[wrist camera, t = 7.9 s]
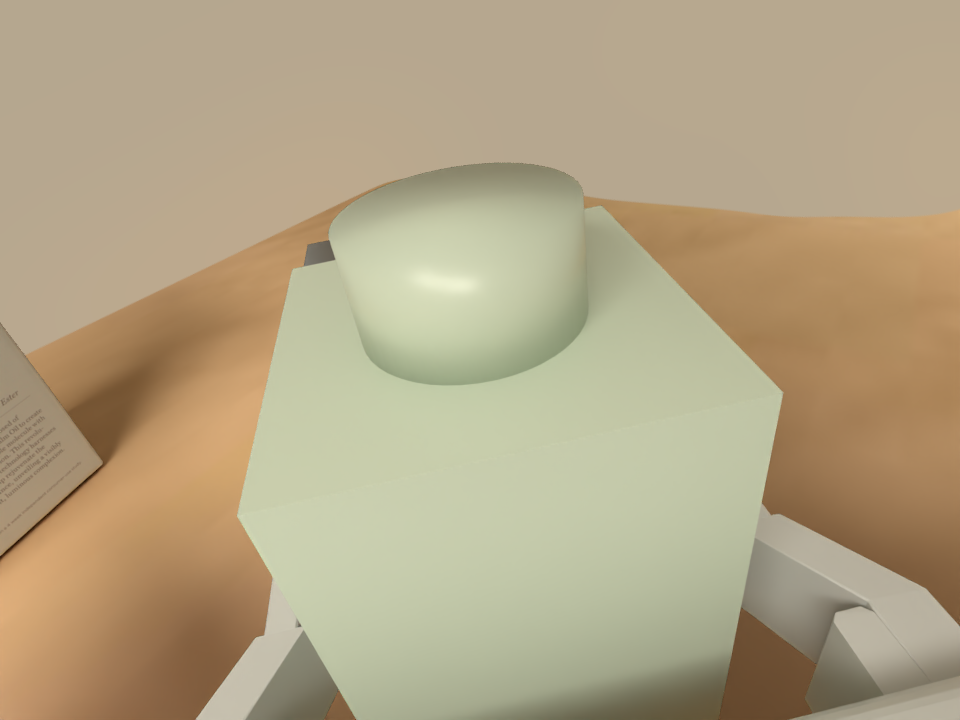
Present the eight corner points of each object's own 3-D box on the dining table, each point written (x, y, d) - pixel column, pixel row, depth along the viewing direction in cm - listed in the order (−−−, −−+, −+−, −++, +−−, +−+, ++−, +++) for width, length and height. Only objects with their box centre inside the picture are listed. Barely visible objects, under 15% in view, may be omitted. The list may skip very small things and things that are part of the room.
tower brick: (453, 884, 11) (162, 391, 4) (429, 641, 16) (260, 181, 8) (699, 819, 12) (811, 252, 5) (612, 597, 16) (599, 113, 9)
